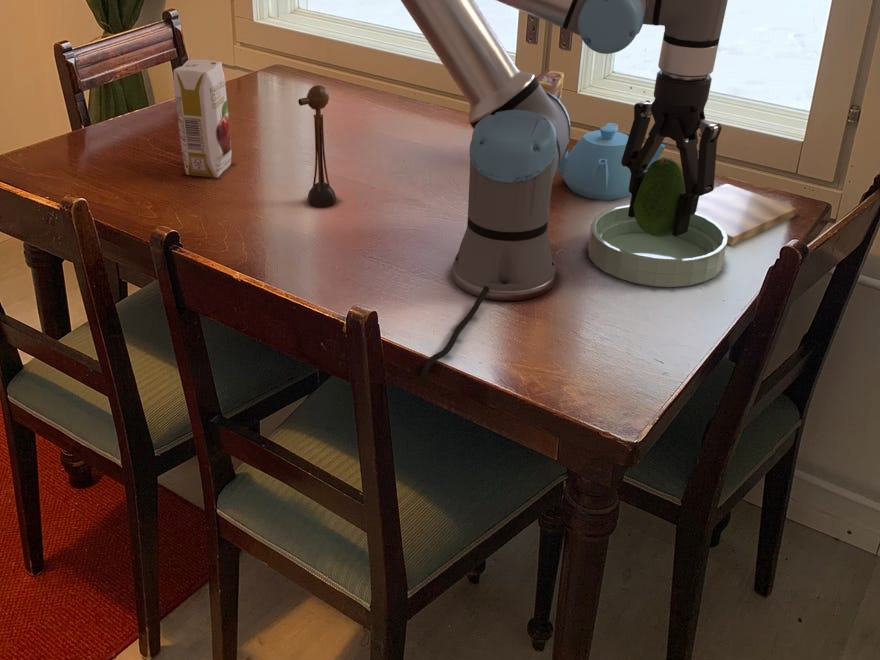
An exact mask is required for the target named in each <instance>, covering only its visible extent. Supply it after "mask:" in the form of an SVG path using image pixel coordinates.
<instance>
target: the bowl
mask: <svg viewBox="0 0 880 660" xmlns="http://www.w3.org/2000/svg"><path fill="white" fill-rule="evenodd" d="M629 207H630V204H627V205H622V206H617V207H612V208H609V209H607V210H604V211H602V212H600V213H599V214H598V215H597V216H595V217H594V218H593V220H592V222H591V224H590V230H589V239H588V244H587V245H588V246H587V252H588V257H589V259H590V260H591V262H592V263H593V265H595V266H596V267H597V268H599V269H600V270H602V271H603V272H604V273H606V274H608V275H611V276H613V277H616V278H618V279H620V280H623V281H627V282H631V283H634V284H640V285H645V286H652V287H664V288H665V287H666V288H674V287H676V288H677V287H686V286H687V287H689V286H693V285H698V284H702V283H705V282H707V281H709V280H711V279H713V278H715V277H716V276H717V275H718V274H719V273H720V272H722V269H723V264H724V259H725V254H726V250H727V247H728V246H727V245H728V244H727V241H728V237H727V234H726V232H725V230H724V229H723V228H722V227H721V226H720V225H719V224H718V223H716V222H715V221H713V220H711V219H709V218H708V217H706V216H703V215H701V214H698V213H695V214H693V215H691V217H690V222H689V227H688V231H687V232H686V233H683V234H681V235H679V236H674V235H668V236H662V237H658V236H652V235H650V234H648V233H646V232H644V231H643V230H642V229H641V228H640V227H639V225H638V224H637V222H636V219H635V217H629V216H628V213H629Z"/></svg>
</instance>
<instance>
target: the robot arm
mask: <svg viewBox="0 0 880 660" xmlns="http://www.w3.org/2000/svg"><path fill="white" fill-rule="evenodd" d="M400 1H401V3H402V5H403V7H404V8H405V9H406V11H407V12H408V14H409V15H410V17H411V18H412V20H413V21H414V23H415V24H416V26H417V27H418V29H419V30H420V32H421V33H422V35H423V36H424V38H425V40H426V41H427V42H428V44H429V45H430V46H431V48H432V49H433V51H434V53H435V55H436V56H437V57H438V59H439V60H440V62H441V63H442V65H443V66H444V68H445V69H446V71H447V73H448V74H449V75H450V77H451V79H452V80H453V82H454V83H455V85H456V86H457V88H458V89H459V91H460V92H461V93H462V95H463V96H464V98H465V99H466V101H467V103H468V104H469V114H468V119H467V121H468V123H469V124H470V126H471V127H472V129H473V130H472V136H471V140H470V143H469V158H470V159H469V179H468V199H467V201H468V202H467V224H466V229H465V232H464V235H463V237H462V240H461V242H460V245H459V248H458V252H457V253H456V255H455V257H454V261H453V264H452V279H453V281H454V283H455V284H456V285H457V286H458V287H459V288H460V289H462V290H463V291H465V292H466V293H468V294H471V295H474V296H476V297H477V298H476V299H475V301H474V303H473V305H472V307H471V308H470V310H469V311H468V313H466V315H465V316H464V318H463V319H462V320H461V321H460V322H459V324H458V325H457V326H456V327H455V329H454V330H453V332H452V334H451V336H450V338H449V341H448V342H447V344H446V345H445V347H444V348H443V349H442V350H440V351H438V352H436V353H435V354H433V355H432V356H430V357H429V358H428V359H427V361H426V362H424V365H423V367H422V369H421V372H420V377H421V378H426V377H427V376H428V373H429V371H430V369H431V368H432V365H433V364H434V363H435V362H436V361H438V360H440V359H442V358H444V357H445V356H446V355H448V354H449V352H450V351H451V350H452V349H453V348H454V345H455V344H456V342H457V339H458V338H459V335H460V334H461V332H462V331H463V330H464V328H465V327H466V326H467V324H468V323H470V321H471V320H472V318H473V317H474V316H475V314H476V313H477V312H478V310H479V308H480V306H481V305H482V303H483V301H484V299H485V300H486V299H488V300H492V301H503V302H513V301H524V300H530V299H534V298H537V297H540V296H542V295H544V294H545V293H547V292H549V291H550V290H551V289H552V288H553V286H554V285H555V282H556V273H557V268H556V262H555V259H554V258H553V254H552V248H551V243H550V242H551V241H550V238H549V233H548V226H549V217H550V209H551V208H550V207H551V199H552V188H553V182H554V179H555V176H556V174H557V173H558V171H559V170H558V167H559V165H560V162H561V160H562V159H563V158H564V156H565V154H566V152H567V151H568V149H569V146H570V141H571V129H572V128H571V127H572V126H571V119H570V116H569V113H568V110H567V108H566V107H565V105H564V104H563V102H562V101H560V100H559V99H558V98H557V97H555V96H554V95H552V94H551V93H549V92H546V91H544V90H543V88H542V87H541V85H540V83H539V82H538V80H537V79H536V77H537V76H535V74H534V73H533V72H530V71H529V72H528V71H523V70H520V69H519V68H518V67H517V65H516V64H515V62H514V61H513V60H512V59H513V58H511V55H510V54H509V53H508V51H507V50H506V48H505V47H504V45H503V43H502V42H501V40H500V39H499V37H498V36H497V34H496V32H495V31H494V30H493V28H492V26H491V25H490V23H489V22H488V20H487V18H486V17H485V15H484V13H483V12H482V10H481V9H480V8H479V6H478V4H477V2H476V1H475V0H400ZM495 1H496V2H498V3H502V4H504V5H506V6H509V7H511V8H513V9H515V10H518V11H519V12H523V13H525V14H527V15H529V16H533V17H534V18H538V19H539V20H542V21H545V22H547V23H550V24H552V25H554V26H557V27H560V28H562V29H564V30H567V31H569V32H571V33H573V34H574V35H578V36H580V39H581V40H582V41H583V43H584V44H585V45H586V47H587V48H589V49H590V50H591V51H594V52H596V53H599V54H603V55H611V54H615V53H618V52H620V51H623V50H625V49H626V48H627V47H628V46H629V45H630V44H631V43H632V42H633V41H634V39H636V36H637V35H639V33H640V32H641V30H642V28H643V25H647V26H655V27H656V26H657V27H658V26H663V27H664V32H663V36H662V42H661V47H660V53H659V57H658V63H657V67H658V69H659V70H658V72H657V73H656V77H655V83H654V90H653V98H654V100H653V102H651V101H650V100H649V99H648V100H644V101H639V102H637V103H635V104H634V105H633V121H632V124H631V128H630V131H629V135H628V136H629V137H628V141H627V144H626V148H625V151H624V154H623V158H622V161H621V163H622V165H623V166H624V167H625V166H627V167H628V168H629V169H630V172H631V178H630V184H629V193H631V194H630V195H631V196H630V202H629V205H630V207H629V213H628V216H629V217H635V215H634V208H633V204H634V201H635V198H636V196H637V193H638V190H639V187H640V185H641V183H642V181H643V179H644V176H645V174H646V172H644V170H647V169H648V168H647V167H648V165H649V163H650V162H651V160H652V158H653V157H654V155H655V153H656V152H657V150H658V148H659V147H660V145H661V144H662V143H663V141H664V140H665V138H669V139H670V140H672V141H674V142H675V146H676V149H677V150H678V151H679V156H680V164H681V170H682V173H683V178H684V185H685V192H683V193H681V194H680V197H679V202H678V207H677V212H676V218H675V223H674V228H673V233H672V235H674V236H679V235H681V234H683V233H686V232H687V231H688V227H689V222H690V217H691V215H693V214H695V212H696V209H697V205H698V200H699V196H702V195H704V194H707V193H709V192H712V191H713V189H714V188H715V176H716V163H717V162H716V161H717V147H718V140H719V136H720V135H721V132H722V127H723V126H722V125H721V124H720V123H718V122H717V123H712V122H710V121H709V120H708V119H707V120H706V115H705V108H706V104H707V103H708V101H709V95H710V92H711V91H710V90H711V86H712V81H713V79H712V78H713V77H712V76H711V74H713V72H714V69H715V65H716V59H717V54H718V49H719V45H720V38H721V34H722V29H723V25H724V20H725V16H726V12H727V11H726V10H727V7H728V1H729V0H495ZM651 117H653V121H654V123H653V125H652V127H651V128H650V130H649V132H648V133H647V131H648V128H649V125H650V122H651ZM698 130H700V132H699V133H698ZM647 134H648V137H647V138H646V135H647ZM698 136H699V137H700V139H699V137H698ZM645 139H646V140H645ZM644 141H645V142H644ZM698 144H699V145H698ZM697 145H698V147H697Z"/></svg>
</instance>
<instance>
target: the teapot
mask: <svg viewBox="0 0 880 660" xmlns="http://www.w3.org/2000/svg"><path fill="white" fill-rule="evenodd" d="M618 127H619V123H617V122H616V123H615V122H607V123H606V125H603V126H601V127H599V129H597V130H591V131H588V132H586V133H585V134H584V135H583V136H581V137H580V138H579V140H578V141H577V142H576V143H575V145H574V146H573V148H572V149H571V150H570V152H569V151H568V150H567V152H566V154H565V156H564V158H563V159H562V160H561V162H560V165H559V167H558V170H557V171H558V172H559V174H561V175H562V178H563V182H564V183H565V184H566V186H567V187H568V188H569V189H570V191H572V192H573V193H575V194H576V195H578V196H581V197H583V198H587V199H592V200H603V201H609V200H610V201H612V200H619V199H623V198H626V197H629V196H630V195H632V193H629V184H630V178H631V172H630V169H629V168H628V167H627V166H625V167H624V166H623V165H622V163H621V161H622V158H623V154H624V151H625V148H626V144H627V141H628V137H629V135H627V134H626V133H623V132H620V131H618V129H619V128H618ZM665 146H666V145H665V144H662V143H661V145H660V147H659V148H658V150H657V152H656V153H655V155H654V157H653V158H652V160H651V162H650V163H649V165H648V167H647V168H649V167H650V165H651V164H652V163H653V162H654V161H656V160H659V159H660V157H661V155H662V154H663V152H664V151H665V148H666V147H665ZM647 170H648V169H647ZM647 170H644V172H647Z"/></svg>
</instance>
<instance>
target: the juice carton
mask: <svg viewBox="0 0 880 660" xmlns="http://www.w3.org/2000/svg"><path fill="white" fill-rule="evenodd" d="M225 78H226V77H225V73H224V69H223V63H222V61H220V60H212V59H211V60H210V59H198V58H197V59H196V58H189V59H187V61H185V62H184V63H183V65H182V66H178V67H176V68H174V69H173V91H174V98H175V100H174V101H175V108H176V116H177V125H178V131H179V140H180V148H181V155H182V156H181V157H182V162H183V167H184V170H185V174H186V175H187V176H193V177H204V178H213V179H217V178H219V177H220V176H221V175H222V174H223V172H224V171H226V170H227V169H228V168H229V167H230V166H231V165H232V156H233V155H232V153H233V152H232V139H231V129H230V119H229V118H230V117H229V110H228V109H229V108H228V98H227V97H228V96H227V87H226V79H225Z"/></svg>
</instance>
